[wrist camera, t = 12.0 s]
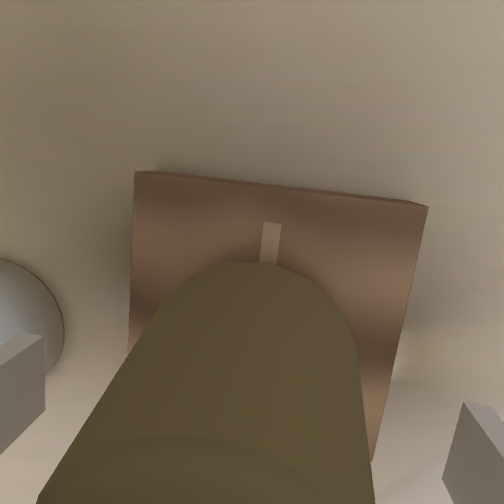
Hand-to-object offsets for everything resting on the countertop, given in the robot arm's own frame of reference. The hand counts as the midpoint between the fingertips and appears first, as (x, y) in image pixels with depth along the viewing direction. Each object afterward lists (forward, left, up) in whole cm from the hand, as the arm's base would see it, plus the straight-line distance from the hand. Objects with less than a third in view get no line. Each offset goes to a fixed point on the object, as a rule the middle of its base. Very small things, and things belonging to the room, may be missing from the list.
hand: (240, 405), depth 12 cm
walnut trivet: (0, 0, -9) cm, 9 cm away
